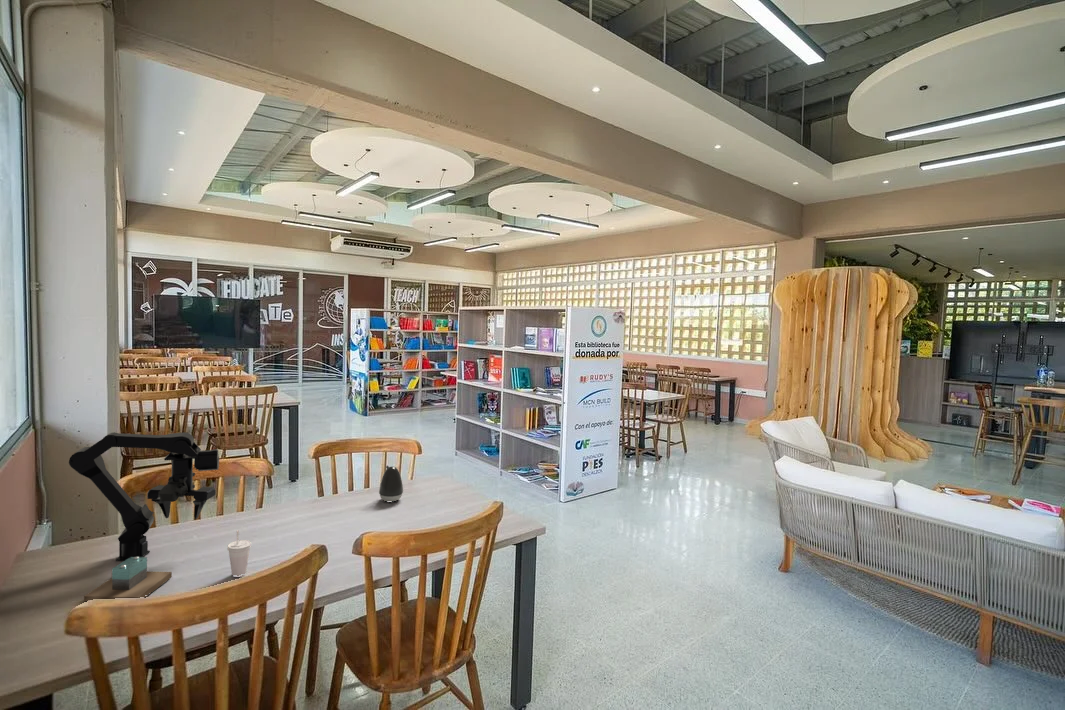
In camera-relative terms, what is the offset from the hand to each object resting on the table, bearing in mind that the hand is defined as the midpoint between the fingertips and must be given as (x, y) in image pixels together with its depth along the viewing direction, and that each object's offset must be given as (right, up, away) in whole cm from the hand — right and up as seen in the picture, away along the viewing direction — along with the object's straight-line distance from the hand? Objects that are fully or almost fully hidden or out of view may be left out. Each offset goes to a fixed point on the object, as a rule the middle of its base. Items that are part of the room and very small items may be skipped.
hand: (181, 518), depth 170 cm
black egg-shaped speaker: (+53, -10, +57) cm, 79 cm away
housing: (+2, -11, -24) cm, 27 cm away
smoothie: (+26, -14, -13) cm, 32 cm away
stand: (+2, -13, -24) cm, 27 cm away
